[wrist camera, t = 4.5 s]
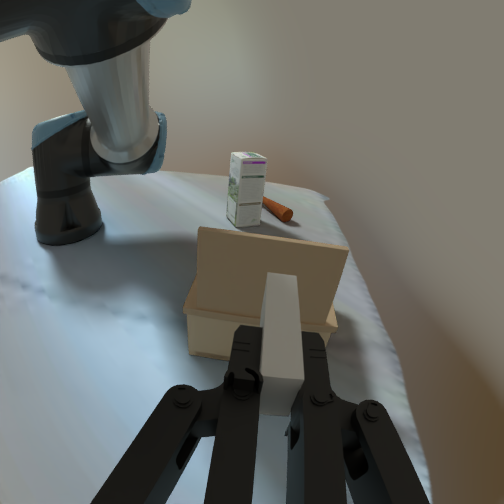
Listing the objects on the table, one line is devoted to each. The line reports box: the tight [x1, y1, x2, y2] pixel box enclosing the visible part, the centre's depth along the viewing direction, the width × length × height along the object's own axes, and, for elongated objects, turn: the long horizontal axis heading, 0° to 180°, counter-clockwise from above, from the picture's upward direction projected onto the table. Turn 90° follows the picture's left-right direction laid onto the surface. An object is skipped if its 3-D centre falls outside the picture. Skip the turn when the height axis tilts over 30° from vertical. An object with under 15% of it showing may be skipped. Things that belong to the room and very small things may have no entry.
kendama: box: [262, 196, 293, 222], centre depth 71 cm, size 6×6×20 cm
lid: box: [183, 227, 349, 333], centre depth 31 cm, size 15×15×9 cm
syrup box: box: [226, 152, 267, 227], centre depth 59 cm, size 6×6×14 cm
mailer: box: [187, 314, 331, 361], centre depth 35 cm, size 14×14×6 cm
